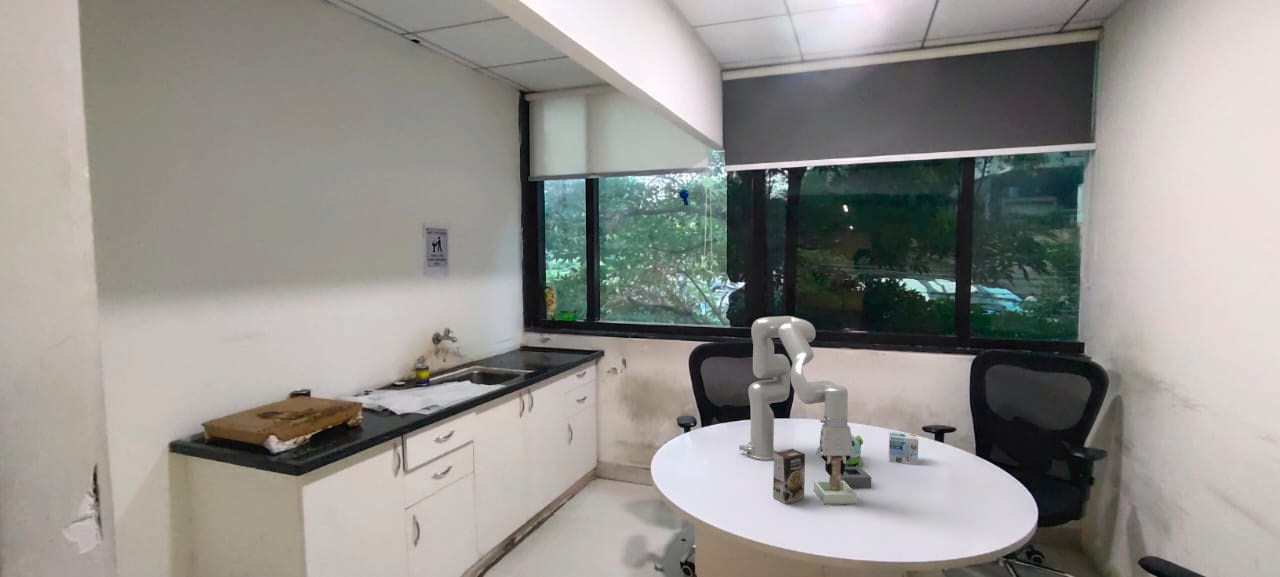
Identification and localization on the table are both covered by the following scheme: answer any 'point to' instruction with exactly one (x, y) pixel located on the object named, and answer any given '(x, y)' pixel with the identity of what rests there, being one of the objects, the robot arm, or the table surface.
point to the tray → (834, 493)
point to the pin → (835, 473)
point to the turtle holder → (856, 447)
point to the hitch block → (856, 477)
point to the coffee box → (789, 475)
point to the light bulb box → (903, 448)
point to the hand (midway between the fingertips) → (835, 473)
